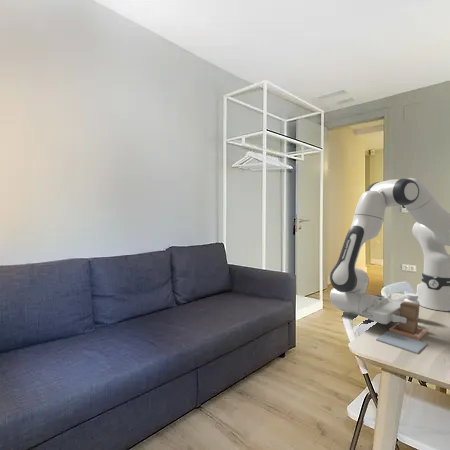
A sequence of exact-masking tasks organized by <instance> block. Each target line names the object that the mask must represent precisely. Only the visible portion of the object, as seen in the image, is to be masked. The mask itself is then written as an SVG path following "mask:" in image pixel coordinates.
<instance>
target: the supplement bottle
mask: <svg viewBox="0 0 450 450" xmlns="http://www.w3.org/2000/svg"><path fill="white" fill-rule="evenodd" d="M405 297H406V298H404V299H403V302H405V301H406V302H410V303H414V304H419V306H420V303H419V301H418V300H417V299H418V295H416V293H412V292H409V293H406V294H405ZM419 315H420V311H419V312H418V319H419V317H420V316H419Z"/></svg>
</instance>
